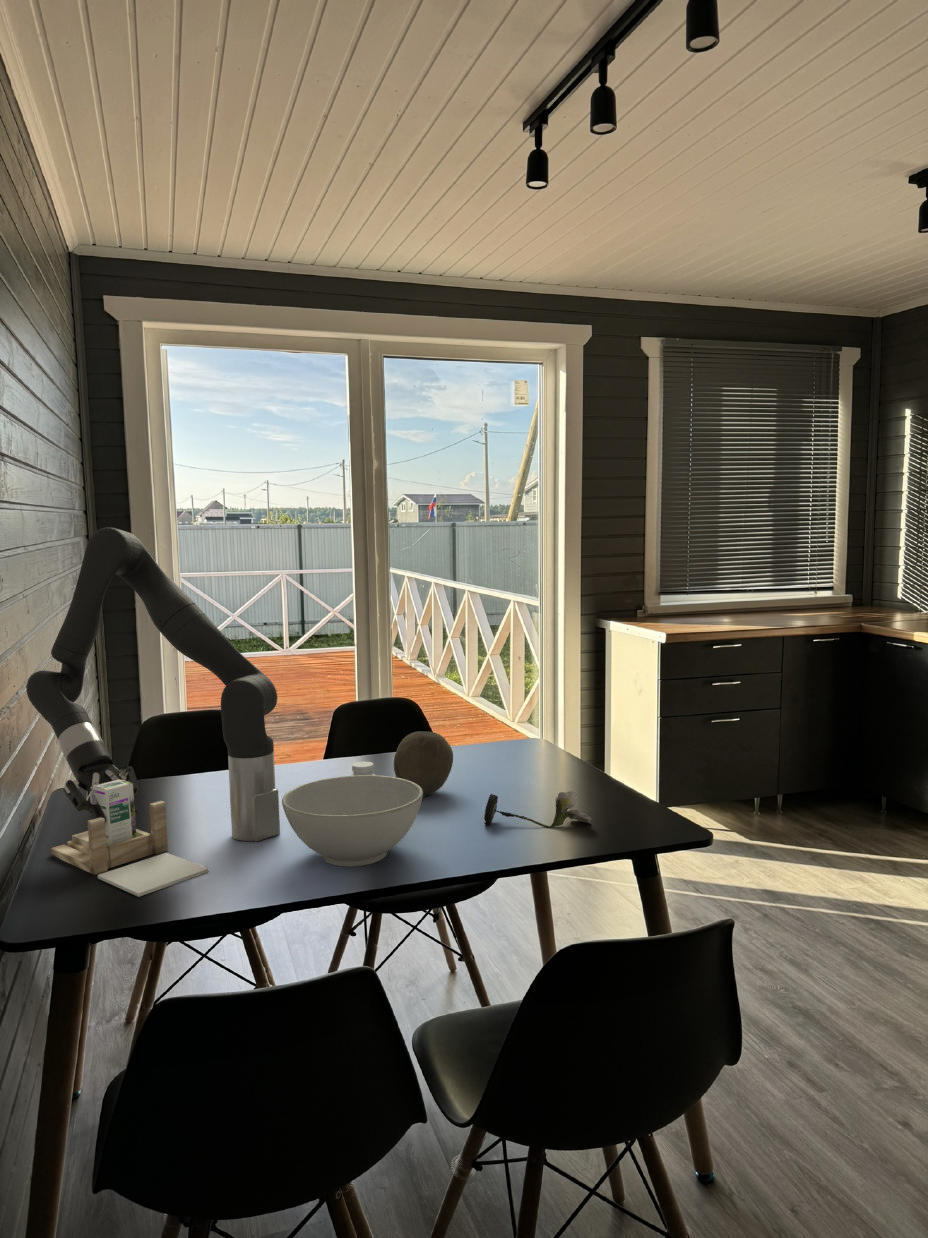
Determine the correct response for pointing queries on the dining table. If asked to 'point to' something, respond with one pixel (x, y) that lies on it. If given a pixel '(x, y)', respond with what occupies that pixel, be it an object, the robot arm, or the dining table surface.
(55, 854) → the birch rack
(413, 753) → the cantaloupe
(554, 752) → the dining table surface
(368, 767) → the pill bottle
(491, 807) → the artificial flower
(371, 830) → the decorative bowl
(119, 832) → the syrup box
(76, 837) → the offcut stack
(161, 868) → the grey mat
